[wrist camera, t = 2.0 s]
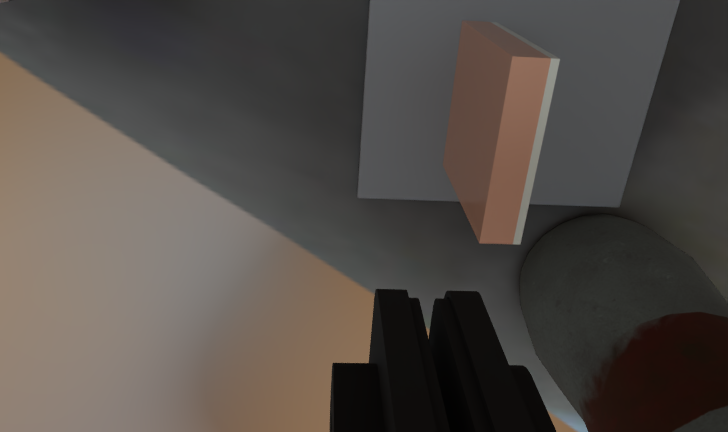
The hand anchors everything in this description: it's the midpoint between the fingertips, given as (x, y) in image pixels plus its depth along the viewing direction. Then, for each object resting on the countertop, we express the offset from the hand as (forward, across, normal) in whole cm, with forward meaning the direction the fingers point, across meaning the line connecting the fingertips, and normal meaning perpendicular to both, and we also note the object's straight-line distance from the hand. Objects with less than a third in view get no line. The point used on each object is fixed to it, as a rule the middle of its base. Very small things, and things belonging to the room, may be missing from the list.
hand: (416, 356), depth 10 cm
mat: (+19, -7, 0) cm, 20 cm away
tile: (+19, -5, 0) cm, 19 cm away
